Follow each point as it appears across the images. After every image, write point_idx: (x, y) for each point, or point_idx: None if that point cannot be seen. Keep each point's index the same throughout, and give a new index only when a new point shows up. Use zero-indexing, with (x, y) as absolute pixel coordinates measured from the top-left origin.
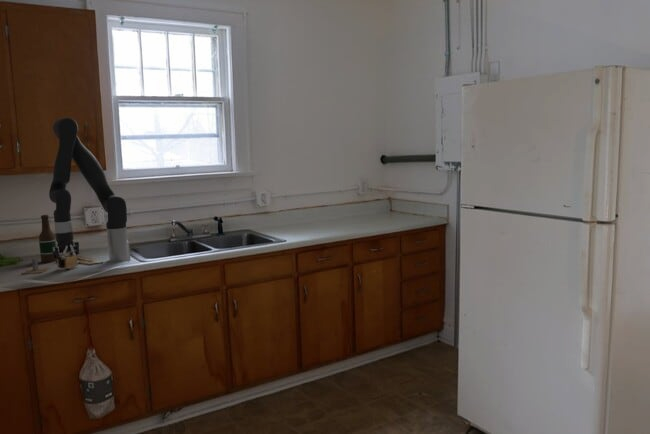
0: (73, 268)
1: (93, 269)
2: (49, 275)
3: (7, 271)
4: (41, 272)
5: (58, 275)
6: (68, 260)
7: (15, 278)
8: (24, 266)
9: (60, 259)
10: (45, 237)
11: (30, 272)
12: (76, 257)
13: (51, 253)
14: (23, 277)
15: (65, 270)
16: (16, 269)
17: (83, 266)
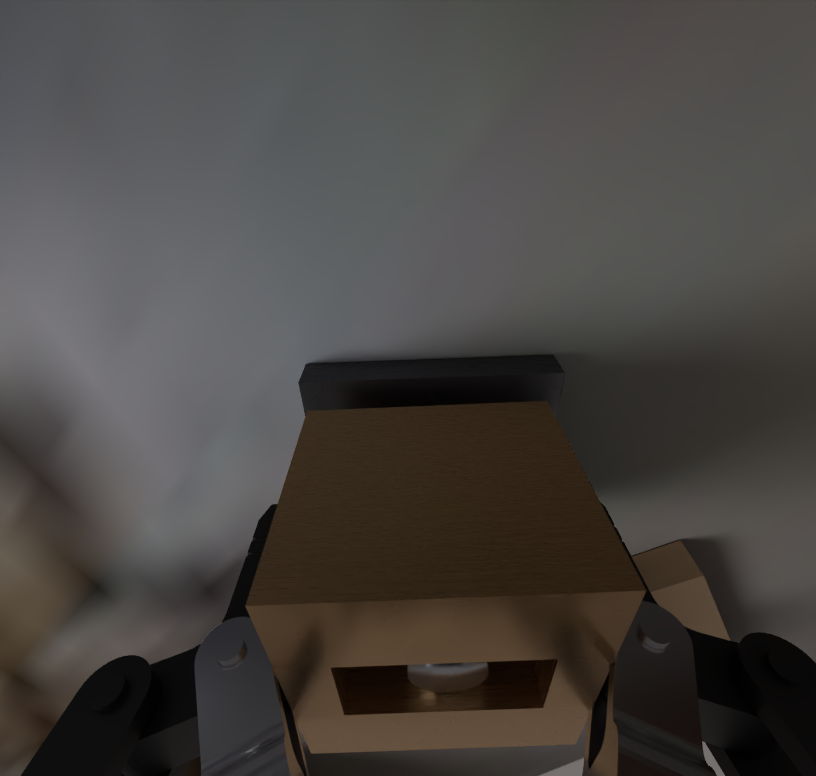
0: (402, 398)
1: (164, 38)
2: (711, 463)
3: (555, 763)
4: (702, 573)
5: (727, 351)
6: (553, 519)
7: (803, 632)
8: (409, 772)
9: (676, 635)
10: None
11: (726, 639)
12: (276, 547)
13: None
14: (772, 609)
15: (552, 410)
16: (494, 761)
17: (153, 445)
